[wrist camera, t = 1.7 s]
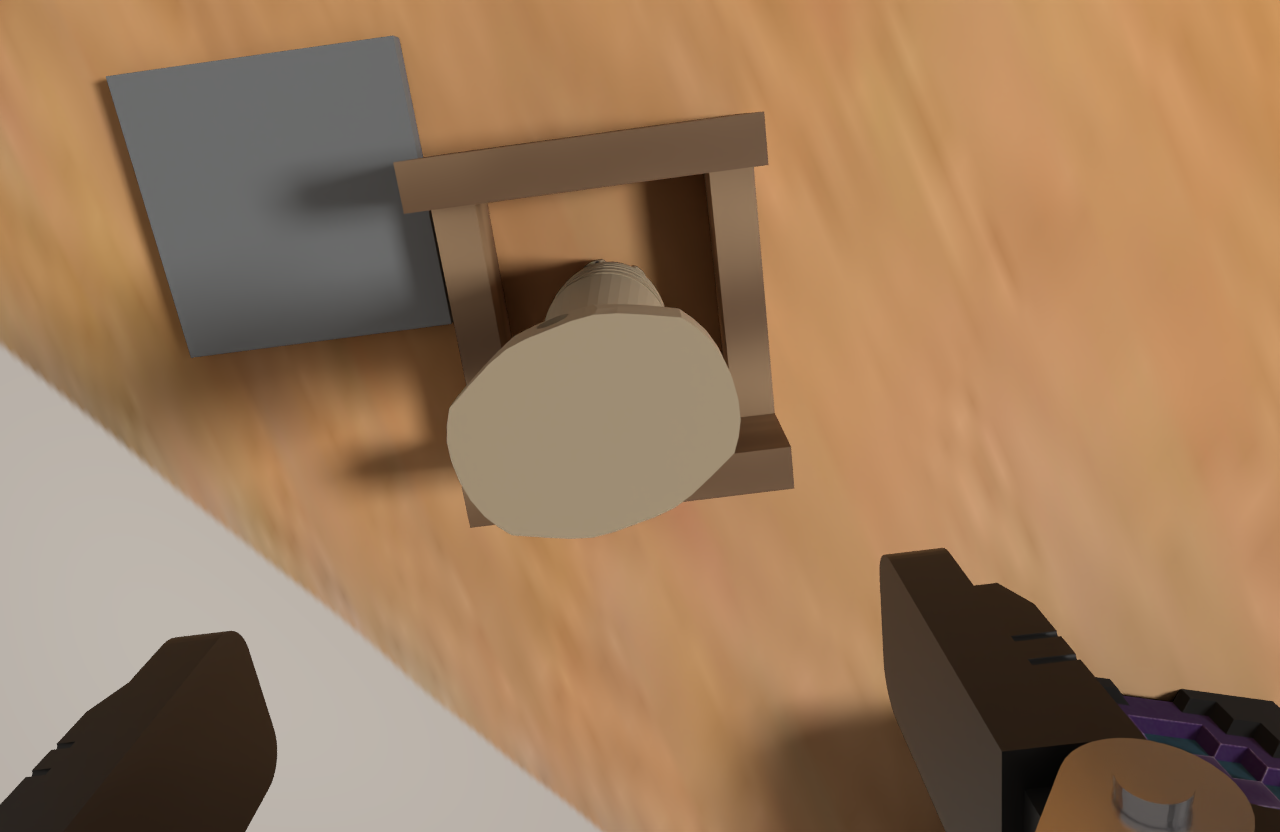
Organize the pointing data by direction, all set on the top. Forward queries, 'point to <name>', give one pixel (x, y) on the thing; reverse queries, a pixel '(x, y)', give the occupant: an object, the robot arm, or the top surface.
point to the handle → (595, 412)
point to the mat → (284, 195)
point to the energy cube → (1216, 734)
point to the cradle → (613, 159)
